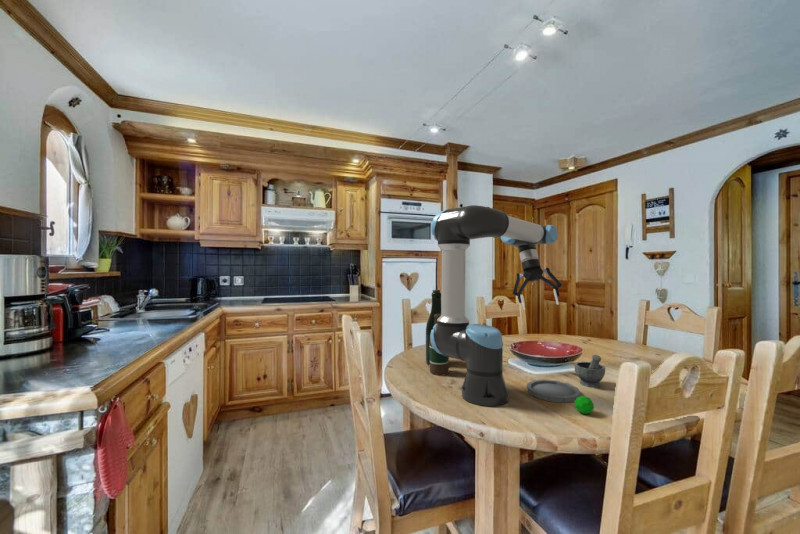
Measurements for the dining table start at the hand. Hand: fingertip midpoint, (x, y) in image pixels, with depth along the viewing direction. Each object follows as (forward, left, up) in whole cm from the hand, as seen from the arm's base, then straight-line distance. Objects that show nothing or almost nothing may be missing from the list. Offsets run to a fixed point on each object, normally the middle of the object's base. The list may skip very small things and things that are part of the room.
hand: (540, 307), depth 143 cm
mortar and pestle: (-9, -22, -25) cm, 35 cm away
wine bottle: (-29, +34, -25) cm, 51 cm away
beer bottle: (-38, +25, -25) cm, 52 cm away
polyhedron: (-35, -29, -25) cm, 52 cm away
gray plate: (-26, -16, -25) cm, 39 cm away
